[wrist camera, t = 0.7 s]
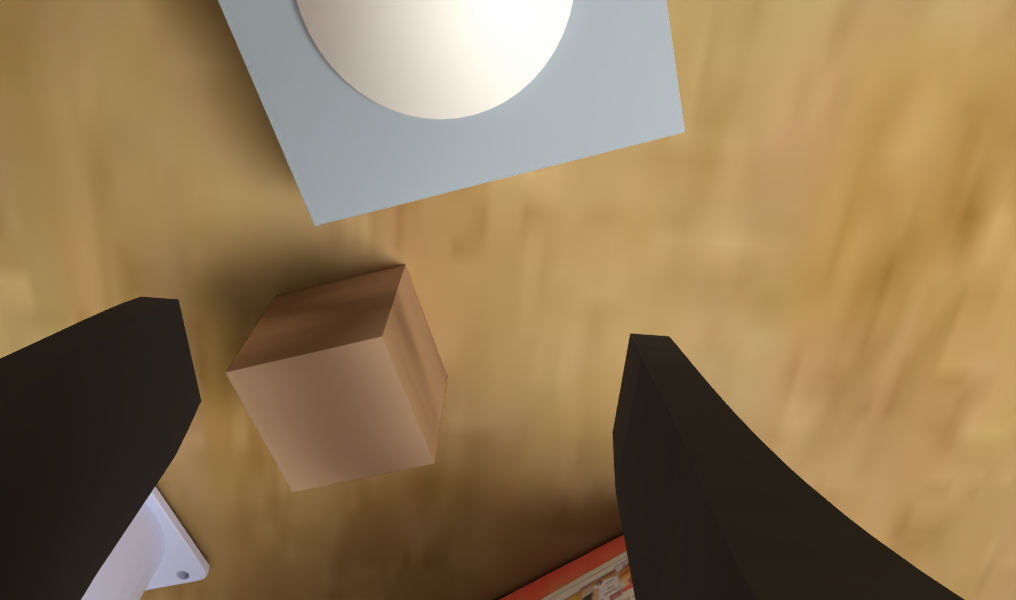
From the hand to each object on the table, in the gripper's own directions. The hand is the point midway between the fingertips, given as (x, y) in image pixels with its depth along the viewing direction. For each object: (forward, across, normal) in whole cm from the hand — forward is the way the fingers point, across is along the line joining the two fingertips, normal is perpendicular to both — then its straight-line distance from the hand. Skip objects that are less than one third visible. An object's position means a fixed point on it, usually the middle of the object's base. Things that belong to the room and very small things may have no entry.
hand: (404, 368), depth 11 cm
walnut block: (+10, +3, +6) cm, 12 cm away
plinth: (+10, +1, -5) cm, 12 cm away
